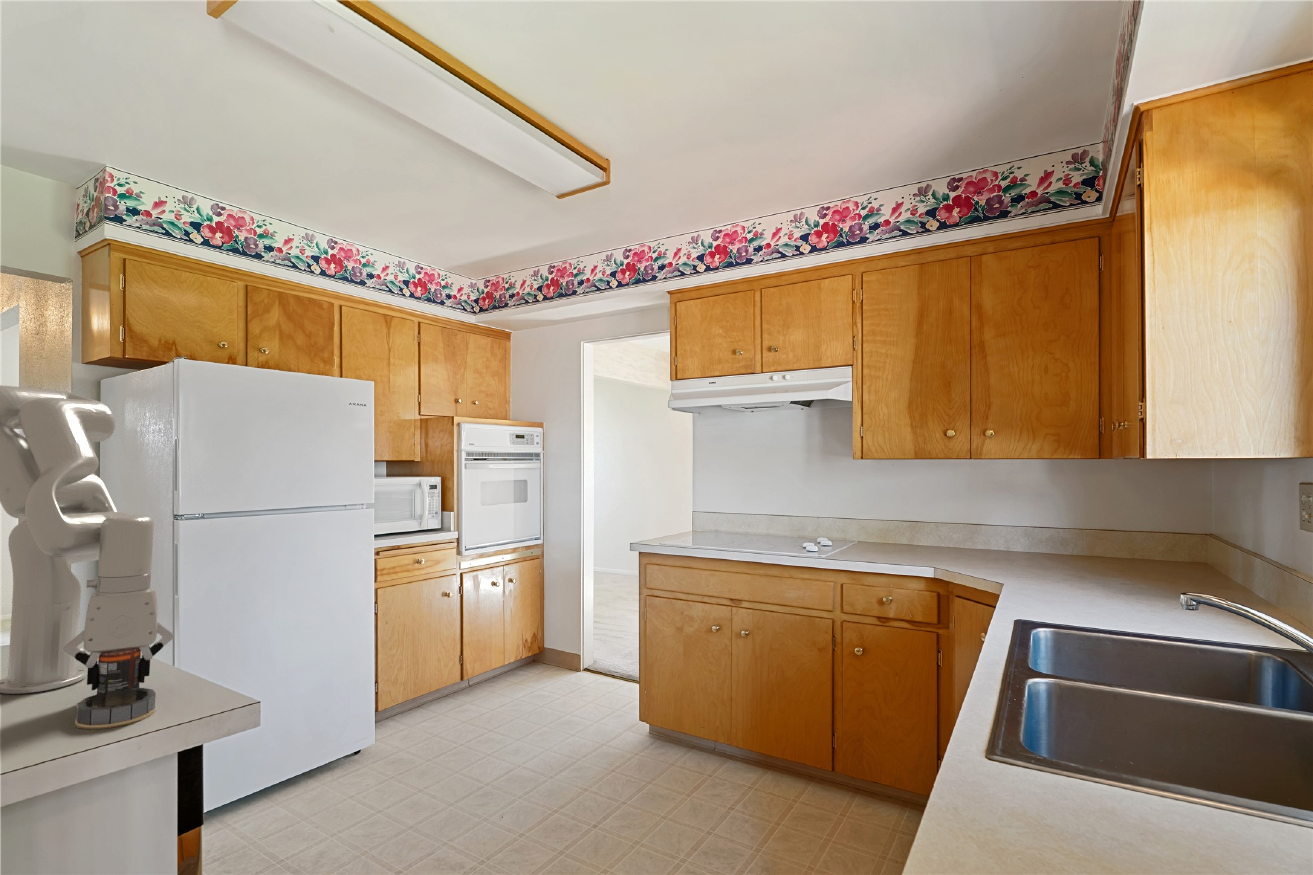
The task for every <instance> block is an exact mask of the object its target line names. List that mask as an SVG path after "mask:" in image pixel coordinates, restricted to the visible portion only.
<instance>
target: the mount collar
mask: <svg viewBox="0 0 1313 875" xmlns="http://www.w3.org/2000/svg"><path fill="white" fill-rule="evenodd" d="M75 711H76V714H75V719H74V726H75V727H76V728H78V729H81V730H105V729H113V728H119V727H123V726H127V725H130V724H131V725H132V724H134V723H137V722H140V721H142V720H143V721H144V720H145V719H147V718H149V717H151V716H152V715H153V714H155V712H156V692H155V690H154V689H152V688H146V687H139V688H127V689H119V690H113V691H108V692H104V693H100V694H97V693H96V694H94V695H91V696H87V697H85V698H83V699H82V700H81V701H78V702H77V703H76V710H75Z"/></svg>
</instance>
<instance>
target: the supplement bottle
mask: <svg viewBox="0 0 1313 875" xmlns="http://www.w3.org/2000/svg"><path fill="white" fill-rule="evenodd" d="M141 654H142V652H141V650H140V648H139V647H138V648H130V649H122V650H114V651H106V652H101V654H100V656H99V658H98V659H97V664H98V682H97V689H96V694H100V693H104V692H108V691H113V690H119V689H127V688H140V684H141V682H139V679H140V658H142V655H141Z"/></svg>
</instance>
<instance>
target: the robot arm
mask: <svg viewBox="0 0 1313 875" xmlns="http://www.w3.org/2000/svg"><path fill="white" fill-rule="evenodd" d="M115 427H116V420H115V416H114V414H113V412H112V410H111V409H110V407H108V405H106V404H104V403H103V402H101V401H99V400H96V399H92V398H89V397H86V396H83V395H79V394H77V393H73V392H71V391H70V392H69V391H65V390H64V391H63V390H55V389H46V388H45V389H44V388H34V387H25V386H12V385H0V504H1V507H2V508H3V510H4V511H5V512H6V514H7V515H9V516H10V517H12V518H14V519H19V520H20V519H21V520H23V521H22V522H20V523H18V524H17V525H16V526H14V527H13V528H12V530H11V532H10V534H9V536H8V545H7V546H8V552H9V557H10V561H11V568H12V602H11V603H12V604H11V616H10V618H11V619H10V630H9V632H10V635H9V649H8V650H9V651H8V663H7V664H8V666H7V668H8V669H7V676H5V677H3V678H1V679H0V694H8V695H10V694H12V695H15V694H31V693H39V692H45V691H51V690H54V689H60V688H62V687H67V686H70V685H73V684H76V683H78V682H80V681H82V680H83V679H85V678H86V685H87V686H88V685H89V686H90V685H91V691H95V690H97V682H98V660H99V656H100V654H101V652H106V651H114V650H122V649H130V648H138V647H139V648H140V650H141V654H142V655H141V657H140V679H139V682H140V684H144V683H145V677H149V676H150V672H151V670H150V669H151V668H150V667H151V660H152V659H153V657H154V656H155V655H156V654H158V652H160V651H161V650H162V649H163V648H164V647H165V646H166V645H167V644H169V643H170V642H171V641H172V640H173V639H174V638H175V634H174V633H173V632H171V631H170V630H169V629H168V628H166V627H165V626H164V625H162V623H160V622H158V601H157V600H158V599H157V593H156V589H155V588H153V587H151V581H152V580H151V578H152V562H153V547H154V546H153V545H154V526H155V524H154V520H153V519H152V518H151V517H149V516H148V515H141V514H140V515H139V514H138V515H137V514H135V515H134V514H132V515H131V514H128V513H127V512H122V511H119V510H118V508H117V506H116V504H115V501H114V500H113V498H112V496H111V494H110V492H109V490H108V487H107V486H106V484H105V482H104V481H103V480H102V479H101V478H100V477H99V476H98V475H97V474H95V472H96V471H97V470H98V468H99V465H100V463H99V462H100V461H99V459H98V457H97V454H96V452H95V449H94V447H93V445H92V443H100V442H104V441H107V440H108V439H109V438H111V437H112V435H113V433H114V431H115V429H116V428H115ZM15 430H22V433H23V435H24V436H23V435H21V434H20V433H18V432H17V431H15ZM93 561H98V563H97V564H98V566H97V577H95V578H93V579H87V580H86V589H88V588H89V589H90V588H91V589H94V590H96V592H94V593H92V594H91V595H90V598H89V602H88V605H87V610H86V614H85V615H86V617H85V623H84V624H85V625H84V629H83V631H81V632H80V633H79V629H80V615H81V614H80V611H81V596H82V595H81V594H82V593H81V592H82V591H81V590H82V589H81V588H82V587H81V583H80V581H79V579H78V578H77V576H76V575H75V574H74V573H73V572H72V571H71V570H70V568H69V566H68V565H72V564H76V563H77V564H78V563H82V562H83V563H85V562H93ZM157 635H159V636H161V638H160V639H159V640H158V641H156V640H157ZM82 643H83V648H81V647H79V645H81V644H82ZM152 644H153V645H152ZM86 652H88V653H89V654H88V653H86ZM77 661H78V662H80V663H81V664H82V665H84V666H85V667H86V668H87V669H86V668H84V667H81V666H77V665H78V664H77Z"/></svg>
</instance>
